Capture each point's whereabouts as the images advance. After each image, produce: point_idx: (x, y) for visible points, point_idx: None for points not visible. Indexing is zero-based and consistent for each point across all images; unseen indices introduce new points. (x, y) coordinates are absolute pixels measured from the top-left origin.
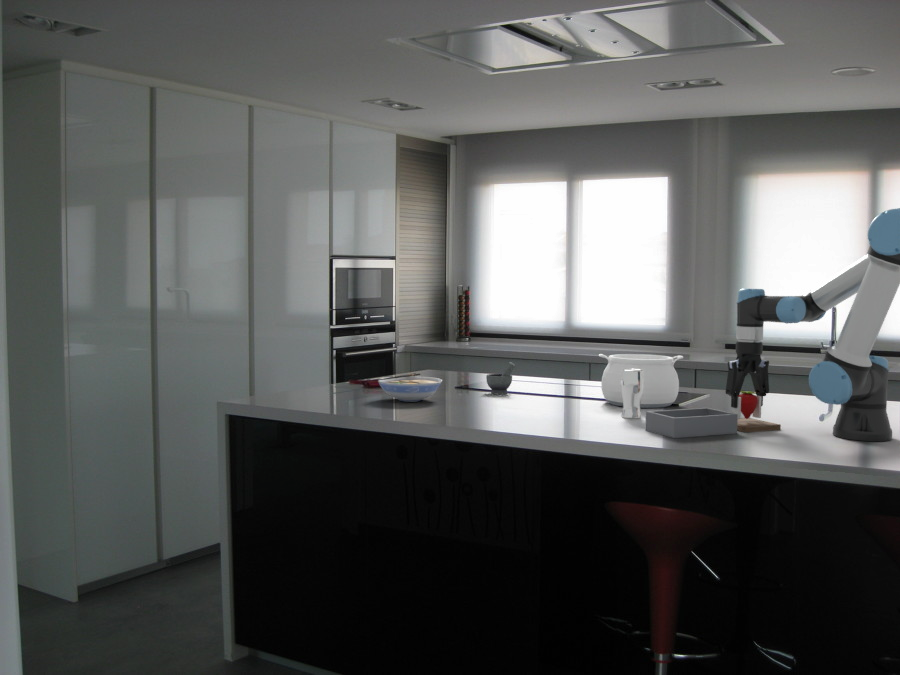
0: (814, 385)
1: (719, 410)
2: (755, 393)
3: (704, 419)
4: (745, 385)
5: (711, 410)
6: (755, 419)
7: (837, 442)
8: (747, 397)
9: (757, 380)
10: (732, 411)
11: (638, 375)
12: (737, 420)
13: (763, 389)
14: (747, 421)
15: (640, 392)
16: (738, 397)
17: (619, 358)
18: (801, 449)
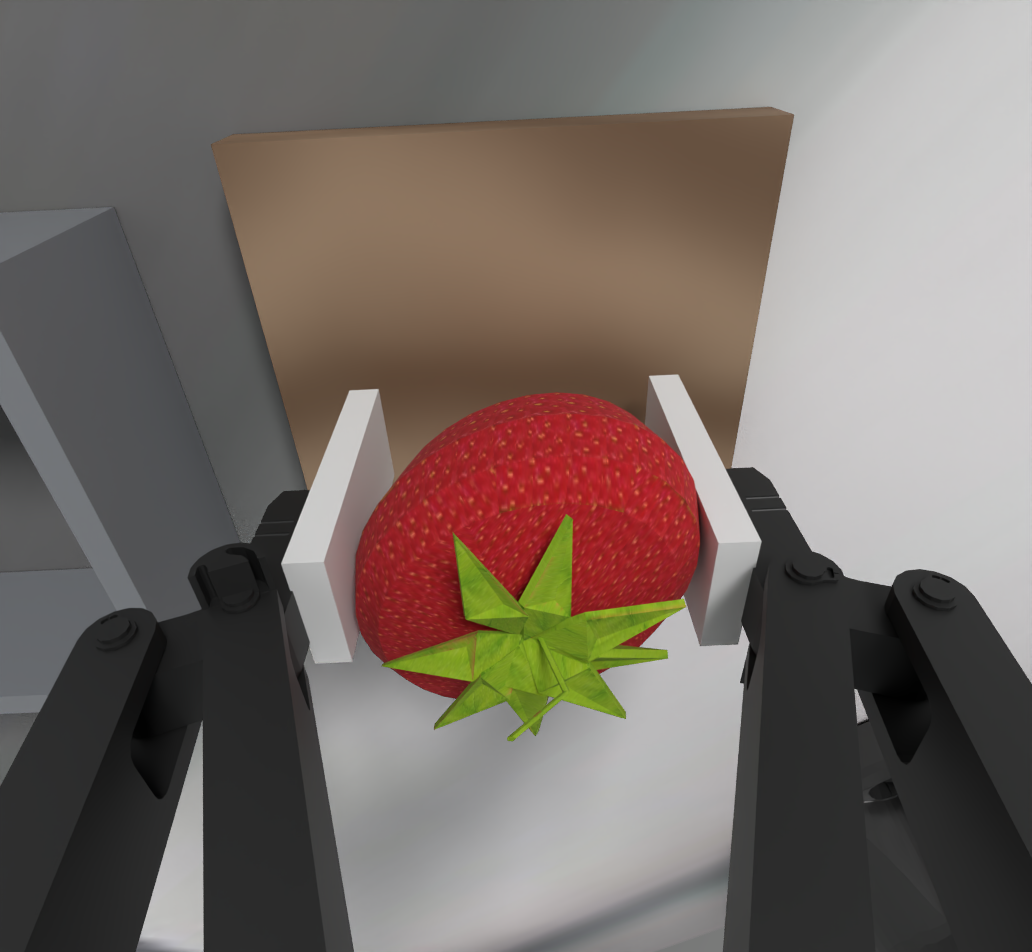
0: None
1: (85, 512)
2: (662, 656)
3: None
4: (515, 735)
5: (14, 399)
6: (747, 293)
7: (658, 832)
8: (430, 691)
9: (726, 909)
10: (335, 432)
11: None
12: (491, 293)
13: (894, 670)
14: (555, 377)
15: None
16: (311, 652)
17: None
18: (363, 880)
